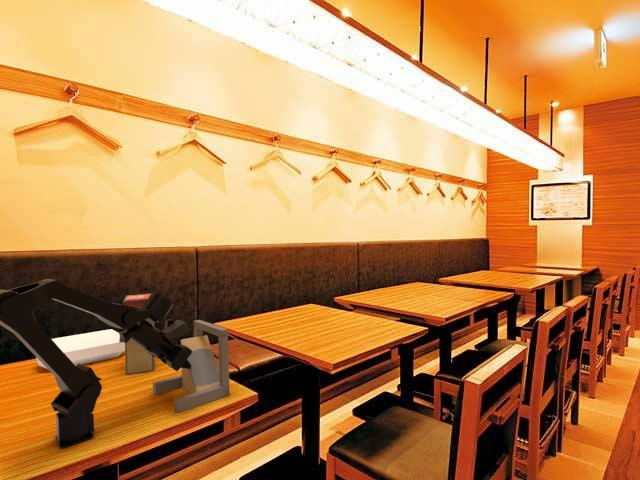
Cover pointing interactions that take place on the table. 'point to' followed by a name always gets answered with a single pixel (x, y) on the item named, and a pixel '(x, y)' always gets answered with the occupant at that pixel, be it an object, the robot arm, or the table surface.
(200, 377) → the sandwich container
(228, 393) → the grey frame stand
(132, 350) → the food packaging
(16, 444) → the table surface
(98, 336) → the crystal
